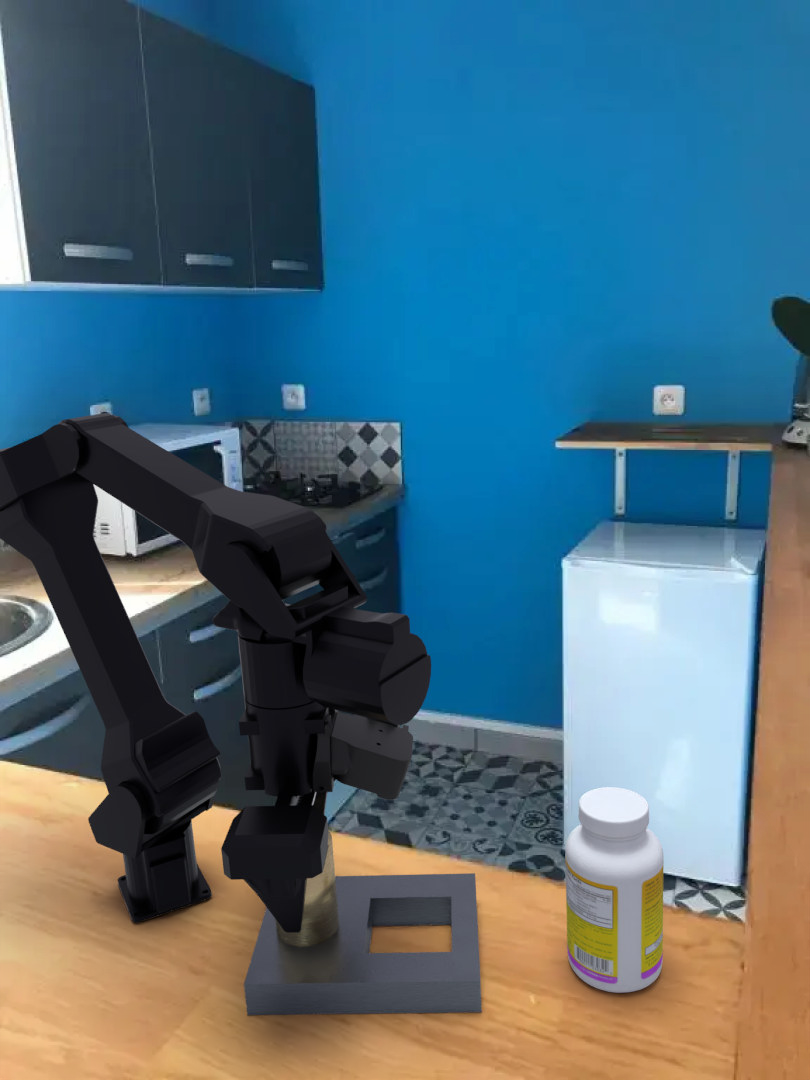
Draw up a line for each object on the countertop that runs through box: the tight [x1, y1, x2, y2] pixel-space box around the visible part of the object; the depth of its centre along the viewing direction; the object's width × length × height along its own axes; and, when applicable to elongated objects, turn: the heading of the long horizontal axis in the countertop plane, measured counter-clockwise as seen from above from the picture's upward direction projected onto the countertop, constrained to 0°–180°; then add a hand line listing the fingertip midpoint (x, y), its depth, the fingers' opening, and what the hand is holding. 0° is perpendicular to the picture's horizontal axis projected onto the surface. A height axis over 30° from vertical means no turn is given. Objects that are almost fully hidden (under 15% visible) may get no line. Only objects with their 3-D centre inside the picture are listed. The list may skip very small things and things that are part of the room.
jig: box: [243, 872, 483, 1016], centre depth 69 cm, size 16×12×2 cm
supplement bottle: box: [564, 786, 664, 994], centre depth 65 cm, size 7×7×13 cm
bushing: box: [275, 830, 339, 947], centre depth 68 cm, size 5×5×7 cm
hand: (303, 889), depth 68 cm, fingers open, 9 cm apart
